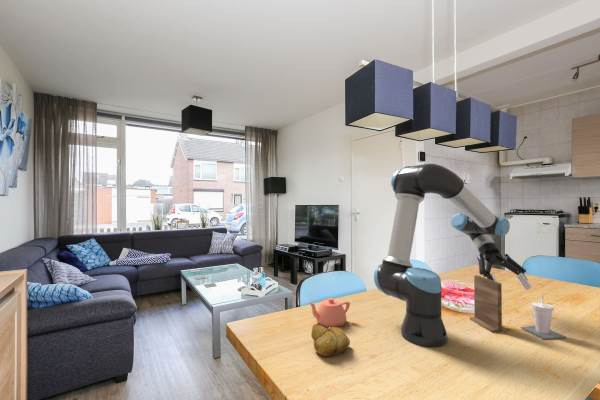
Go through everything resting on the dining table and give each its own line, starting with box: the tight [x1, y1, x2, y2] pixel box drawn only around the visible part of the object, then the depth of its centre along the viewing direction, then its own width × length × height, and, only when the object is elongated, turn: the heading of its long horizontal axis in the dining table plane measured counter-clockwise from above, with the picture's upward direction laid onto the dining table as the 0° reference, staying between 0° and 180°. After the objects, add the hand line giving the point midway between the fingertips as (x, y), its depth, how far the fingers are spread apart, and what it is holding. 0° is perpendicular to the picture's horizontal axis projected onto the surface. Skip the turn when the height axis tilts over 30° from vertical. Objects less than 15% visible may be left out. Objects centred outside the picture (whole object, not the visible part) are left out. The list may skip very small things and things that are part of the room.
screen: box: [469, 274, 508, 334], centre depth 111 cm, size 6×12×18 cm, turn 6°
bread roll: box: [311, 323, 351, 357], centre depth 93 cm, size 13×10×8 cm
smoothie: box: [530, 293, 555, 334], centre depth 105 cm, size 6×6×14 cm
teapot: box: [307, 297, 351, 328], centre depth 115 cm, size 12×18×10 cm
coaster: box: [520, 325, 567, 340], centre depth 105 cm, size 9×9×1 cm
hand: (513, 288), depth 117 cm, fingers open, 13 cm apart
